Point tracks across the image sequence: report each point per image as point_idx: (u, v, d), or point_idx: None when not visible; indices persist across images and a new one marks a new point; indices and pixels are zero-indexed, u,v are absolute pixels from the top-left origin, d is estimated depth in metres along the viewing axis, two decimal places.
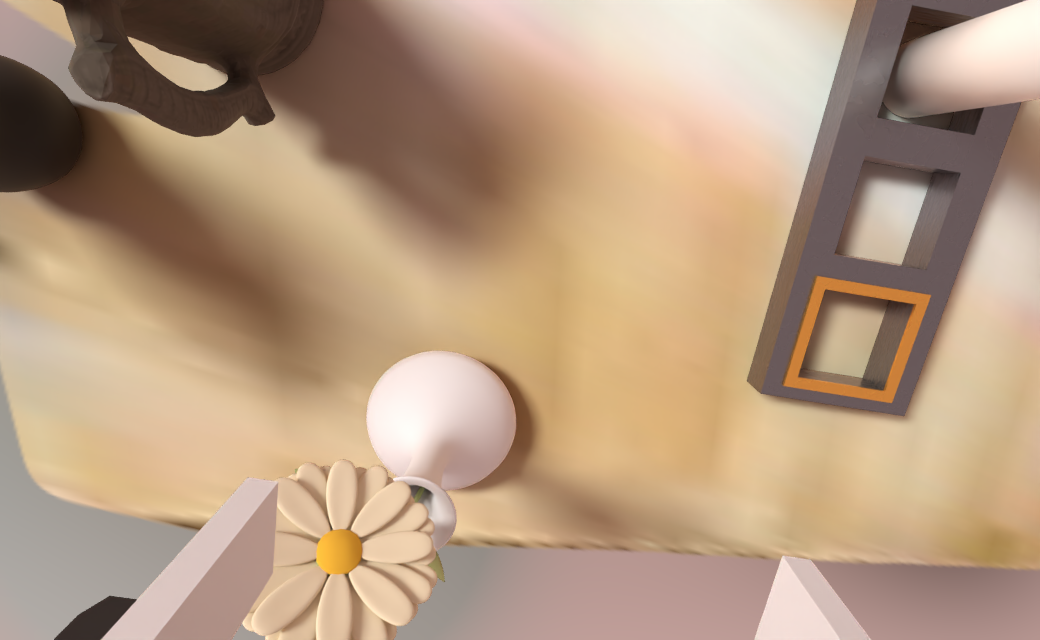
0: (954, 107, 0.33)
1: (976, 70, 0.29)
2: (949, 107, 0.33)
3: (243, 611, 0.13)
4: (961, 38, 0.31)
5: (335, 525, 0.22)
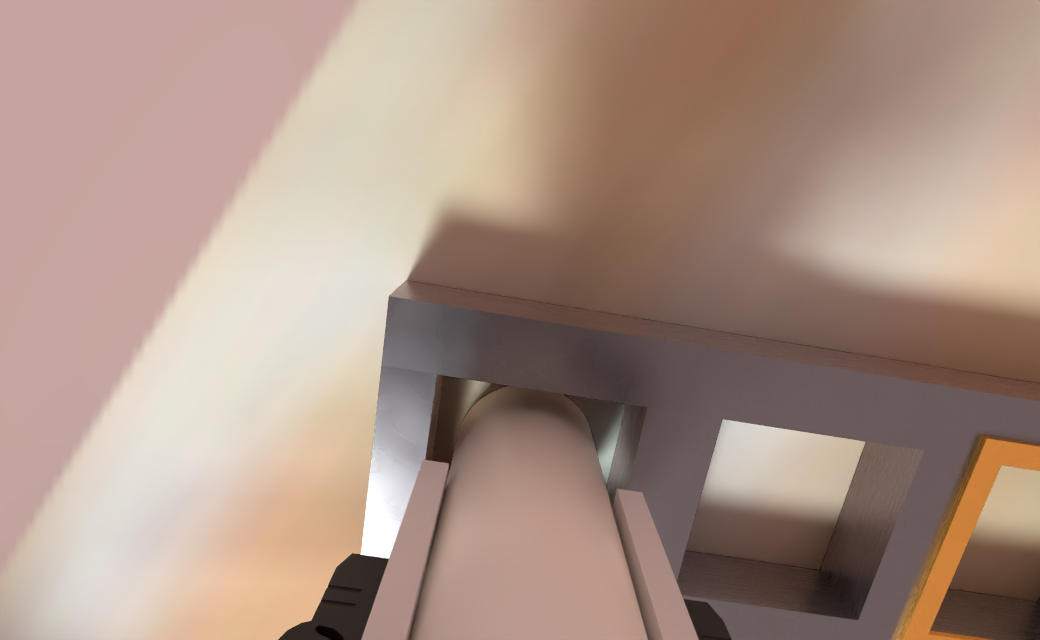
0: None
1: None
2: None
3: None
4: None
5: None
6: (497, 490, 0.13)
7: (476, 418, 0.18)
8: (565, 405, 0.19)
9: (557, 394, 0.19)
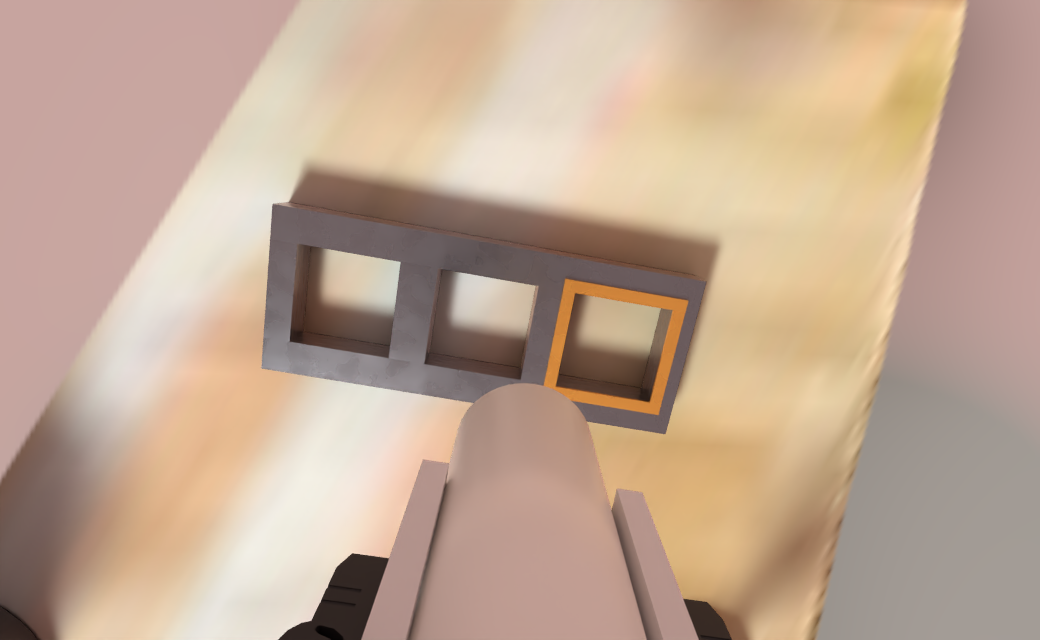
0: None
1: None
2: None
3: None
4: None
5: None
6: (496, 489, 0.13)
7: (475, 417, 0.18)
8: (564, 404, 0.19)
9: (556, 393, 0.19)
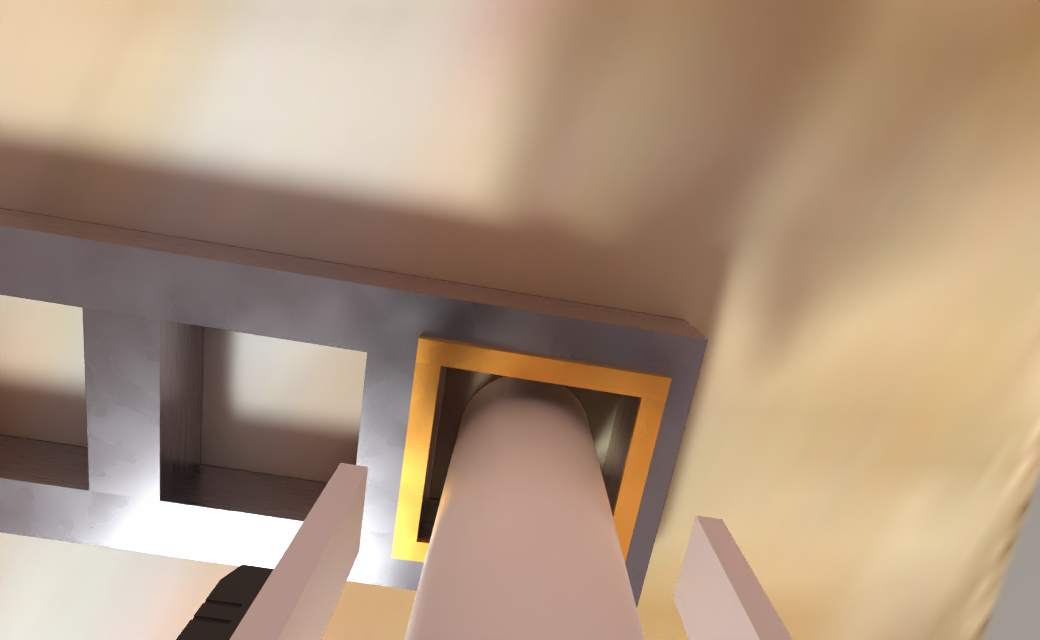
0: None
1: None
2: None
3: (342, 583, 0.14)
4: None
5: None
6: (497, 468, 0.14)
7: (478, 404, 0.19)
8: (563, 393, 0.20)
9: None
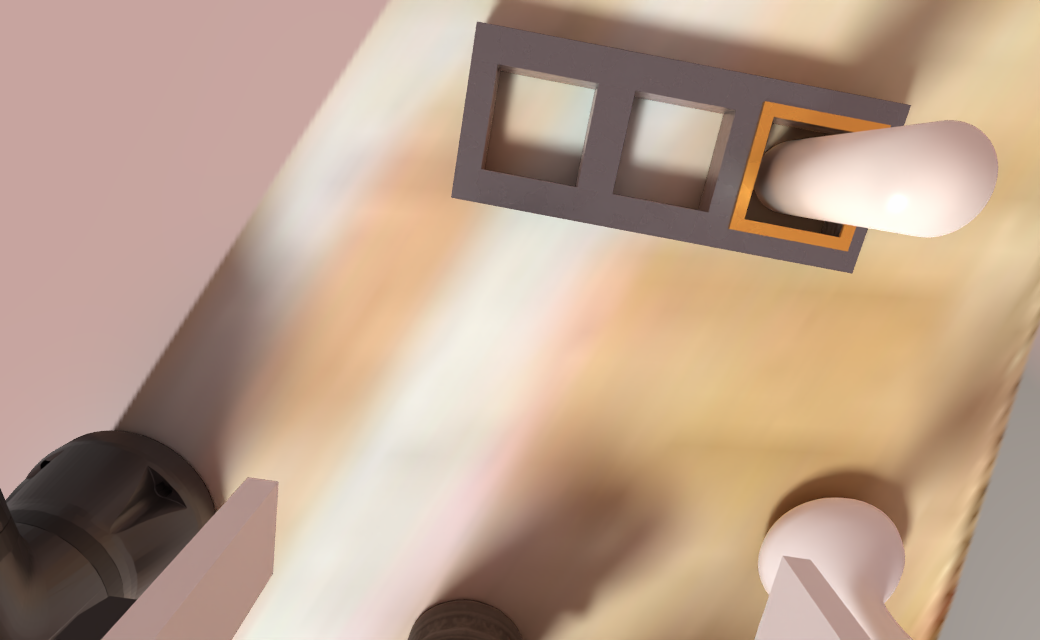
0: None
1: None
2: None
3: (243, 611, 0.13)
4: (815, 217, 0.33)
5: None
6: (834, 135, 0.32)
7: (779, 148, 0.37)
8: None
9: None
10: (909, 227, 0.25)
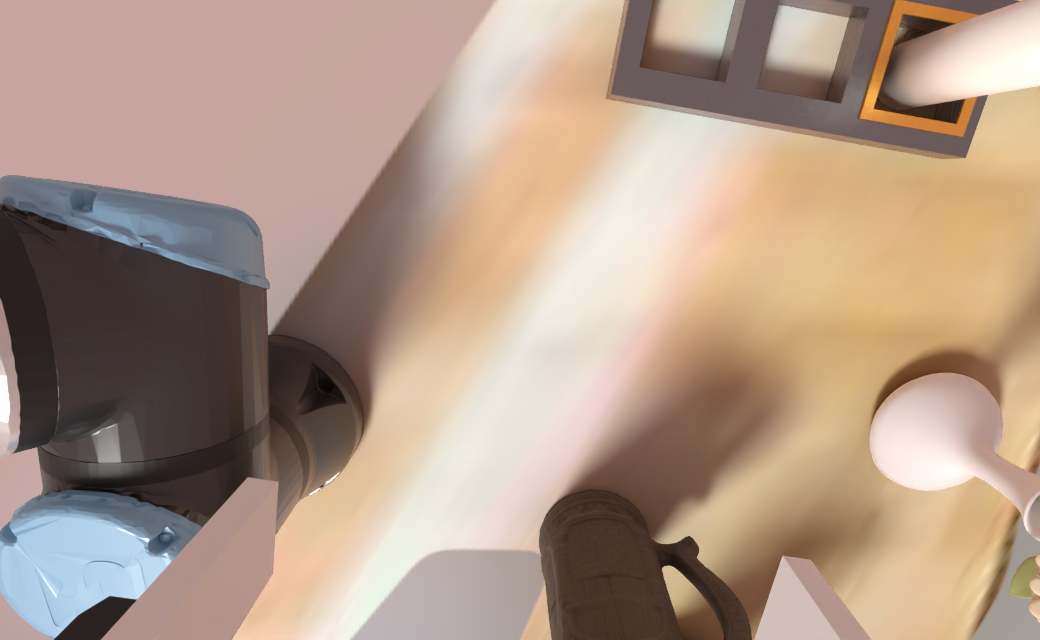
0: None
1: (998, 92, 0.36)
2: None
3: (243, 611, 0.13)
4: (951, 94, 0.38)
5: None
6: None
7: (902, 45, 0.41)
8: None
9: None
10: None
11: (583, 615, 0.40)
